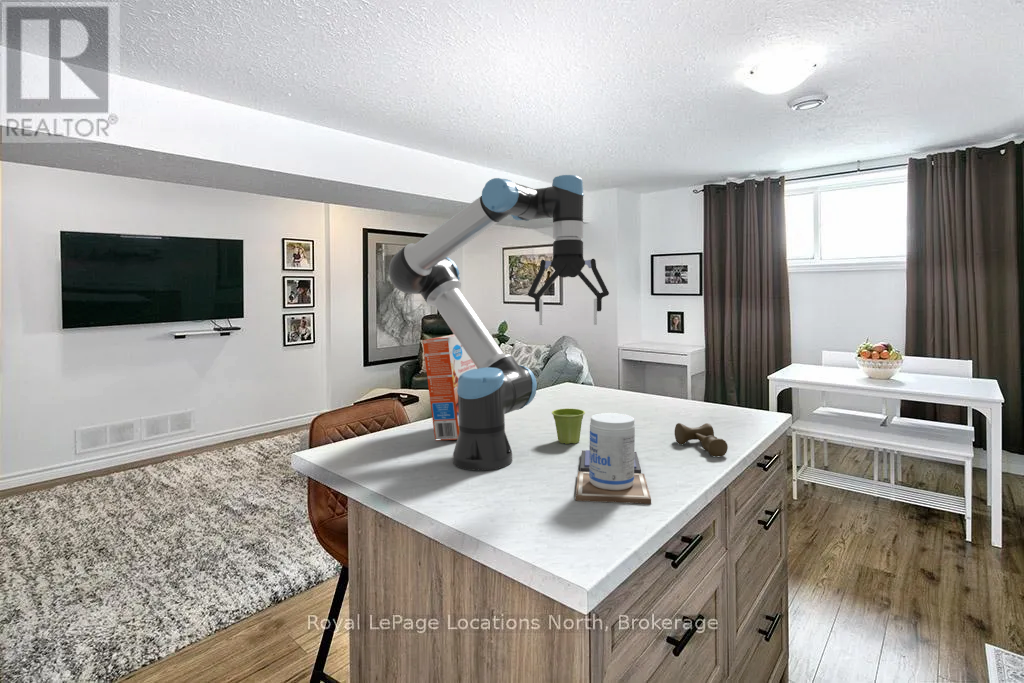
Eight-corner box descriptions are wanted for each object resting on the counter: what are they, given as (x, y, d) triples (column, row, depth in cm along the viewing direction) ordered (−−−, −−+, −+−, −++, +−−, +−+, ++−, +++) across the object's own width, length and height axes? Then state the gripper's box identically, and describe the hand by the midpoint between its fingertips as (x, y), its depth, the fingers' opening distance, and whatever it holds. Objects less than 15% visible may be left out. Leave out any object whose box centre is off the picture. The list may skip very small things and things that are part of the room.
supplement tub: (581, 485, 112) (580, 418, 110) (602, 473, 119) (602, 410, 118) (622, 495, 106) (622, 424, 104) (642, 482, 113) (642, 415, 112)
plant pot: (576, 448, 143) (576, 417, 142) (546, 443, 148) (545, 413, 147) (590, 439, 151) (590, 410, 150) (561, 435, 156) (561, 407, 155)
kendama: (700, 461, 132) (667, 437, 151) (736, 459, 133) (699, 436, 152) (702, 438, 131) (668, 417, 151) (737, 437, 132) (700, 417, 152)
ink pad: (581, 454, 136) (581, 448, 136) (636, 456, 134) (636, 450, 134) (580, 472, 123) (580, 466, 123) (641, 474, 120) (641, 468, 120)
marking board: (578, 475, 121) (578, 471, 121) (644, 477, 118) (644, 473, 118) (575, 500, 106) (575, 495, 106) (651, 503, 104) (651, 498, 104)
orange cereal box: (460, 439, 151) (447, 337, 149) (435, 440, 154) (422, 340, 152) (486, 421, 173) (476, 332, 171) (464, 422, 175) (453, 334, 174)
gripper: (618, 240, 131) (617, 323, 133) (520, 242, 135) (521, 323, 137) (619, 237, 124) (618, 325, 126) (516, 239, 128) (517, 325, 130)
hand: (568, 324), depth 131 cm, fingers open, 13 cm apart
